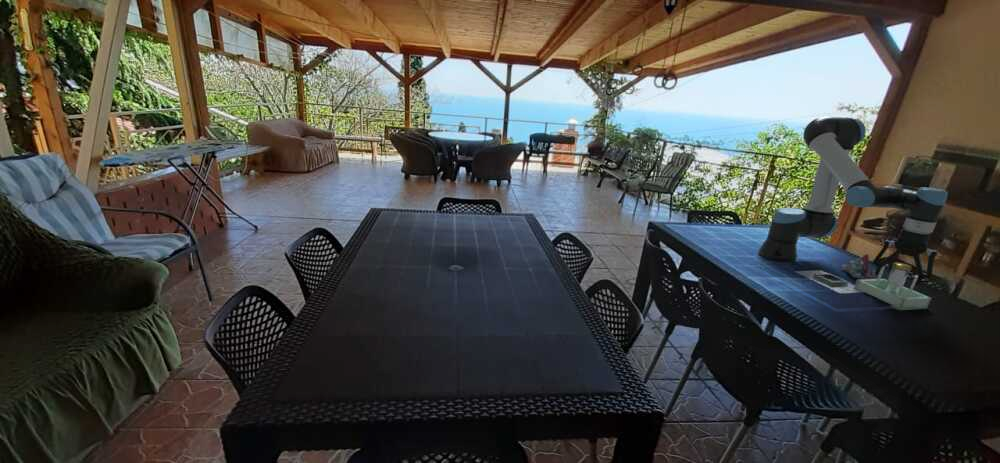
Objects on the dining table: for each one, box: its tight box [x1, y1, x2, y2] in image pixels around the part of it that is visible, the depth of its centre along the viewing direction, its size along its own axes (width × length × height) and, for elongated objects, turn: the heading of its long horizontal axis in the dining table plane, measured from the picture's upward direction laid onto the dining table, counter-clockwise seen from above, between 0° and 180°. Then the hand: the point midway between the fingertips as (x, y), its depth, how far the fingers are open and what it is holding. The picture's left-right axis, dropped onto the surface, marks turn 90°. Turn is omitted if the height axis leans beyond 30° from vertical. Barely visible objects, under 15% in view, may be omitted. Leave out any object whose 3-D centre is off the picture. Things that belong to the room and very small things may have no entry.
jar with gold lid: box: [884, 262, 913, 296], centre depth 146 cm, size 5×5×13 cm
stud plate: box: [794, 270, 864, 294], centre depth 159 cm, size 20×14×2 cm
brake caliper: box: [841, 253, 876, 280], centre depth 165 cm, size 11×11×12 cm
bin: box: [854, 278, 932, 311], centre depth 148 cm, size 16×13×4 cm
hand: (893, 287), depth 147 cm, fingers open, 8 cm apart
